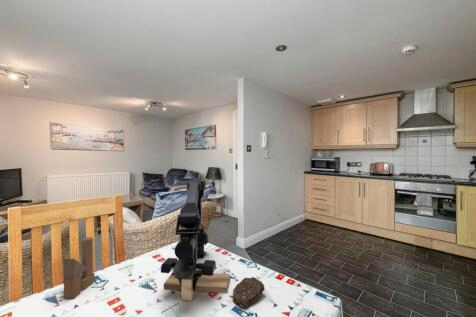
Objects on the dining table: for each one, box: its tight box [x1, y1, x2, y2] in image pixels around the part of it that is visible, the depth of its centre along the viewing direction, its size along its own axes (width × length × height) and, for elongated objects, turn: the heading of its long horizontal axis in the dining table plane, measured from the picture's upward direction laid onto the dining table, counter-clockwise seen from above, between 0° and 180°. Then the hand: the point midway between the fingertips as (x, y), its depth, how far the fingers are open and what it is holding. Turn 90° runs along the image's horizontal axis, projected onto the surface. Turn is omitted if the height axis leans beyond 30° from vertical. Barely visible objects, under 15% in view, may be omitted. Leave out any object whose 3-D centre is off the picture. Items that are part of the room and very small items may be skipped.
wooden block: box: [63, 236, 96, 300], centre depth 78 cm, size 4×11×18 cm, turn 179°
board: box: [163, 272, 231, 294], centre depth 81 cm, size 9×24×2 cm, turn 84°
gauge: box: [180, 274, 197, 301], centre depth 79 cm, size 14×4×7 cm, turn 174°
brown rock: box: [232, 276, 265, 309], centre depth 74 cm, size 12×10×5 cm
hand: (188, 290), depth 74 cm, fingers closed on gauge, 3 cm apart
